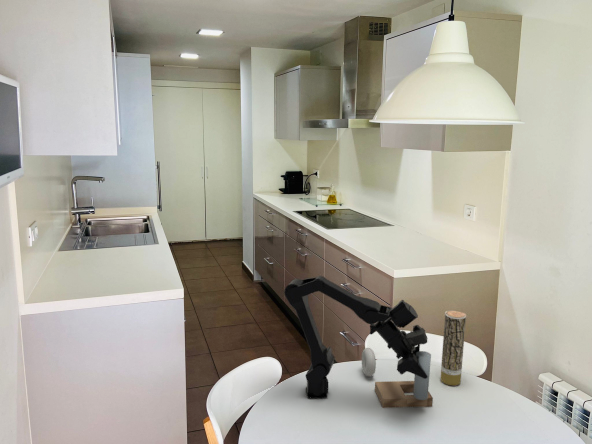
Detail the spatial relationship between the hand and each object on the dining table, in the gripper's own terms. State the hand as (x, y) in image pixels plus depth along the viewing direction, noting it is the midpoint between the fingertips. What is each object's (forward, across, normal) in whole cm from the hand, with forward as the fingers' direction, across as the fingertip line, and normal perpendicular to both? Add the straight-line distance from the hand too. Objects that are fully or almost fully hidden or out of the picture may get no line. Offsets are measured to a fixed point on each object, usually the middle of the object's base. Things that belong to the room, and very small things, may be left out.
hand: (426, 374), depth 152 cm
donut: (-5, +18, +23) cm, 30 cm away
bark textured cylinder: (+15, +22, +3) cm, 27 cm away
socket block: (+4, +6, +14) cm, 15 cm away
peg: (+4, 0, +6) cm, 8 cm away
